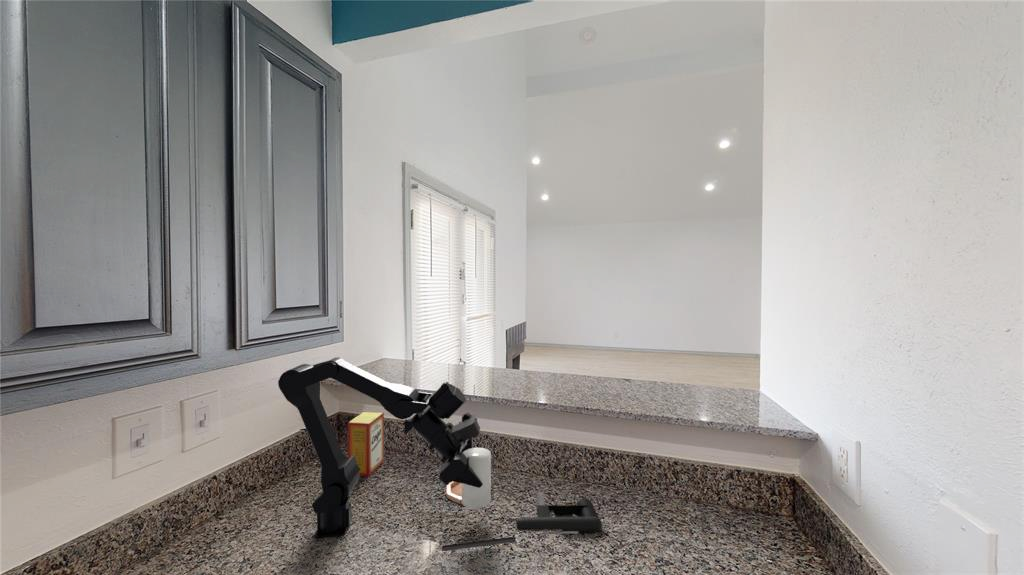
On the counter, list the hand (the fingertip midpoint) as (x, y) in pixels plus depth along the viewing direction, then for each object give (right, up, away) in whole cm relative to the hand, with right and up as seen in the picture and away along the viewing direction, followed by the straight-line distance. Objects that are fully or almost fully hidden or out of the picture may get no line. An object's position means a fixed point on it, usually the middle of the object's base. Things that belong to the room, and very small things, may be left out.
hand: (482, 477), depth 88 cm
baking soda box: (-38, -11, +27) cm, 48 cm away
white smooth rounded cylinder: (-1, -5, 0) cm, 5 cm away
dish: (-5, -11, +13) cm, 18 cm away
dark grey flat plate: (-1, -11, -1) cm, 12 cm away
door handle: (+18, -12, +4) cm, 22 cm away
